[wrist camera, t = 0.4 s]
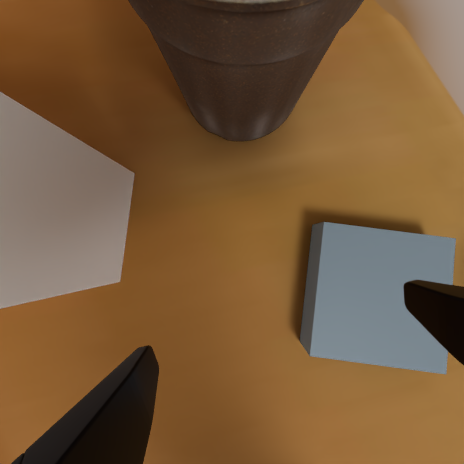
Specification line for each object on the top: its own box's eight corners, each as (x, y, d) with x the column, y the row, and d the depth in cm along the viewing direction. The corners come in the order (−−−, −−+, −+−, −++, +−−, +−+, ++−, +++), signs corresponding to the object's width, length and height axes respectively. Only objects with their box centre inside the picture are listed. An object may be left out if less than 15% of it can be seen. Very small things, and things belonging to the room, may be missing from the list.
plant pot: (210, 189, 24) (162, 74, 8) (138, 63, 25) (-39, -277, 9) (341, 116, 24) (557, -139, 8) (266, -6, 25) (327, -454, 9)
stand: (418, 357, 23) (446, 374, 20) (299, 341, 23) (309, 356, 20) (427, 239, 23) (455, 238, 20) (312, 224, 24) (323, 221, 21)
